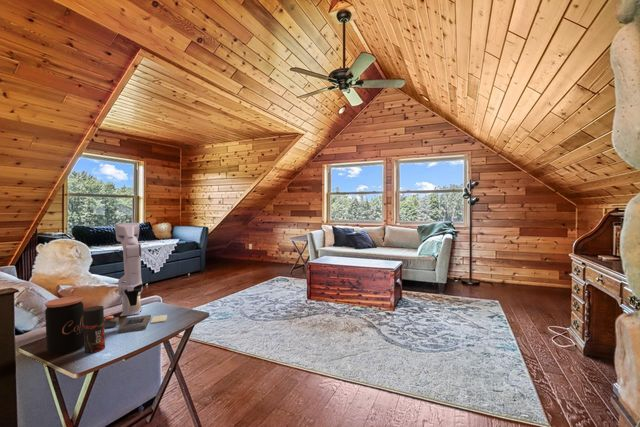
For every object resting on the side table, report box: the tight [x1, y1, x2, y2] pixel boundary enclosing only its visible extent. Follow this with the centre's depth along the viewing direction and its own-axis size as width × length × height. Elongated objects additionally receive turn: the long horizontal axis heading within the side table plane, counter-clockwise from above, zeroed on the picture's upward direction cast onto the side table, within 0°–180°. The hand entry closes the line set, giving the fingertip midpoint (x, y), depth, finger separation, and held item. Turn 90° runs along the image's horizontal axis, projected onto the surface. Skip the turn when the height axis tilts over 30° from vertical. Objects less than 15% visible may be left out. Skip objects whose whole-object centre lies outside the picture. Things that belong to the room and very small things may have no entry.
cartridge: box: [128, 292, 142, 311], centre depth 133 cm, size 5×5×7 cm
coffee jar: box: [44, 295, 85, 356], centre depth 112 cm, size 11×11×18 cm
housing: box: [117, 314, 152, 334], centre depth 134 cm, size 14×10×2 cm
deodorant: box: [83, 305, 106, 354], centre depth 111 cm, size 6×6×15 cm
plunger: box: [104, 315, 115, 322], centre depth 133 cm, size 3×3×3 cm
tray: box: [150, 314, 168, 324], centre depth 140 cm, size 8×6×1 cm
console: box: [104, 316, 120, 329], centre depth 133 cm, size 5×6×2 cm
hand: (134, 303), depth 133 cm, fingers closed on cartridge, 5 cm apart
